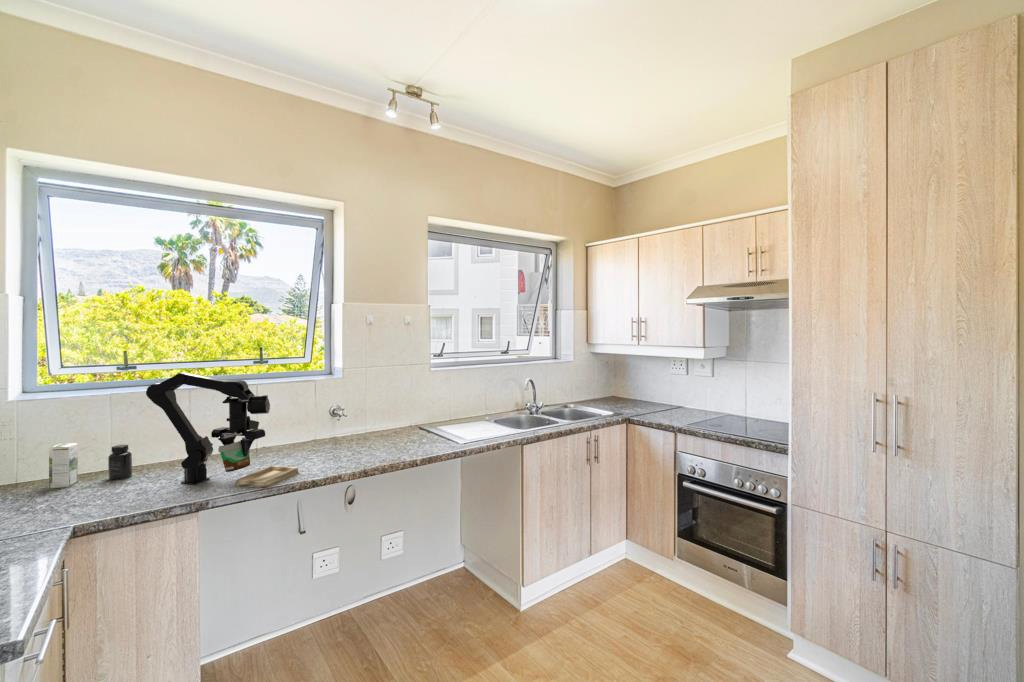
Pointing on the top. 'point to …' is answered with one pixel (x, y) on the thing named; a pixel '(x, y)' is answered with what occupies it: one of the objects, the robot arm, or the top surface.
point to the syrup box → (63, 465)
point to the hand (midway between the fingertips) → (238, 456)
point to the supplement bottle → (120, 463)
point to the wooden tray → (267, 476)
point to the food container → (234, 456)
